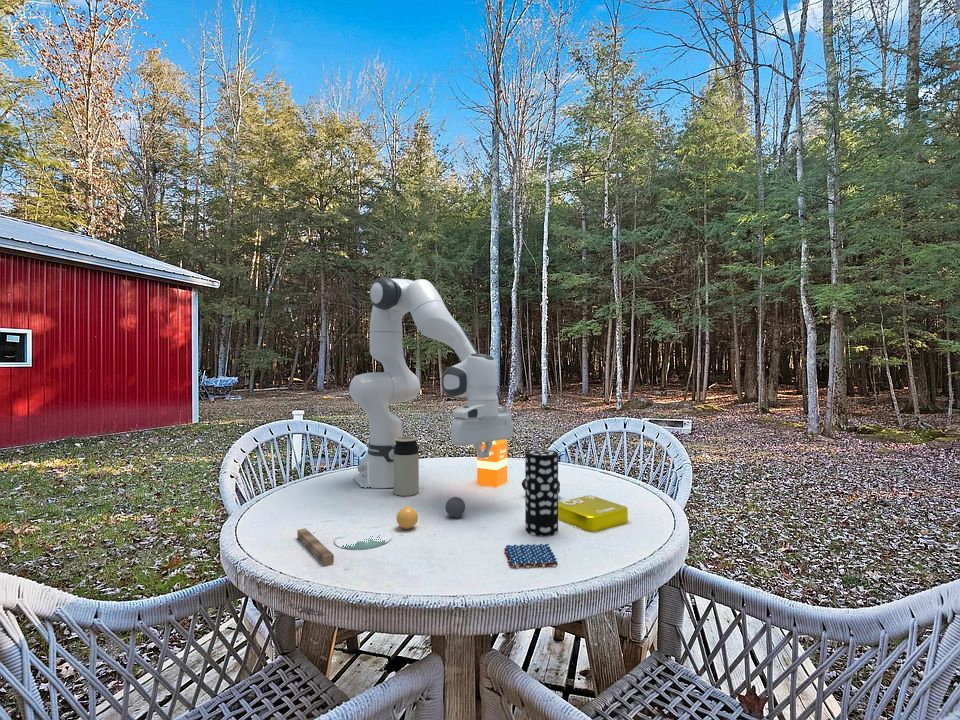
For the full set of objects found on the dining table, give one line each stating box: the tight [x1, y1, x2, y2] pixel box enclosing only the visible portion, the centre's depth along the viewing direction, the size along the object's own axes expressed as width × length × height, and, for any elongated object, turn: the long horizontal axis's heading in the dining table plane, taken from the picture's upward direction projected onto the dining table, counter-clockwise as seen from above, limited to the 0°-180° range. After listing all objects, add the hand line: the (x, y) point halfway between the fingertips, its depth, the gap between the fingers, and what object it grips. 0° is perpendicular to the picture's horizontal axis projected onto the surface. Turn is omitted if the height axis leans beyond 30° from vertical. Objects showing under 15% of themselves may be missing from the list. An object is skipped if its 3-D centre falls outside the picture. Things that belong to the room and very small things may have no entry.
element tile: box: [558, 495, 629, 533], centre depth 134 cm, size 15×15×5 cm
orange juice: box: [476, 439, 508, 488], centre depth 172 cm, size 8×9×20 cm
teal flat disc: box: [341, 535, 388, 550], centre depth 121 cm, size 14×14×1 cm
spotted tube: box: [524, 448, 559, 537], centre depth 126 cm, size 8×8×20 cm
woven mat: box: [503, 543, 558, 570], centre depth 109 cm, size 10×11×2 cm
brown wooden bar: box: [296, 528, 335, 567], centre depth 114 cm, size 20×2×2 cm, turn 36°
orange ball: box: [396, 506, 419, 530], centre depth 128 cm, size 6×6×6 cm
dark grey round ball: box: [445, 496, 466, 518], centre depth 137 cm, size 6×6×6 cm
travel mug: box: [393, 435, 420, 497], centre depth 160 cm, size 8×8×18 cm
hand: (483, 457), depth 142 cm, fingers closed
